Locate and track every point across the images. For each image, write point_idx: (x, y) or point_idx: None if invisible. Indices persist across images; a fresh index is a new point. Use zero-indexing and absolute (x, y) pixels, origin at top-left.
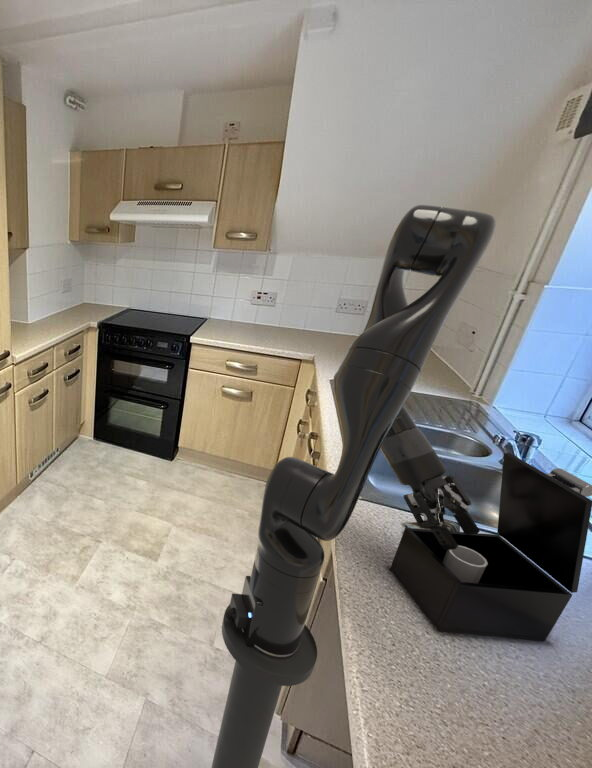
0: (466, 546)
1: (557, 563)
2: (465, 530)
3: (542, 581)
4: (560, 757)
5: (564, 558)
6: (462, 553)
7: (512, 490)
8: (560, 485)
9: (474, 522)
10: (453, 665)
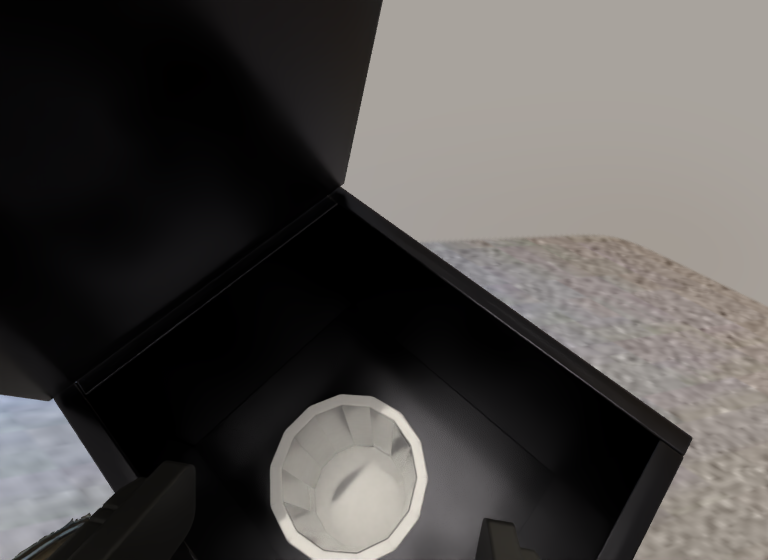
0: None
1: (303, 168)
2: (179, 533)
3: (295, 254)
4: (653, 253)
5: (328, 118)
6: (290, 502)
7: None
8: None
9: (125, 501)
10: None
